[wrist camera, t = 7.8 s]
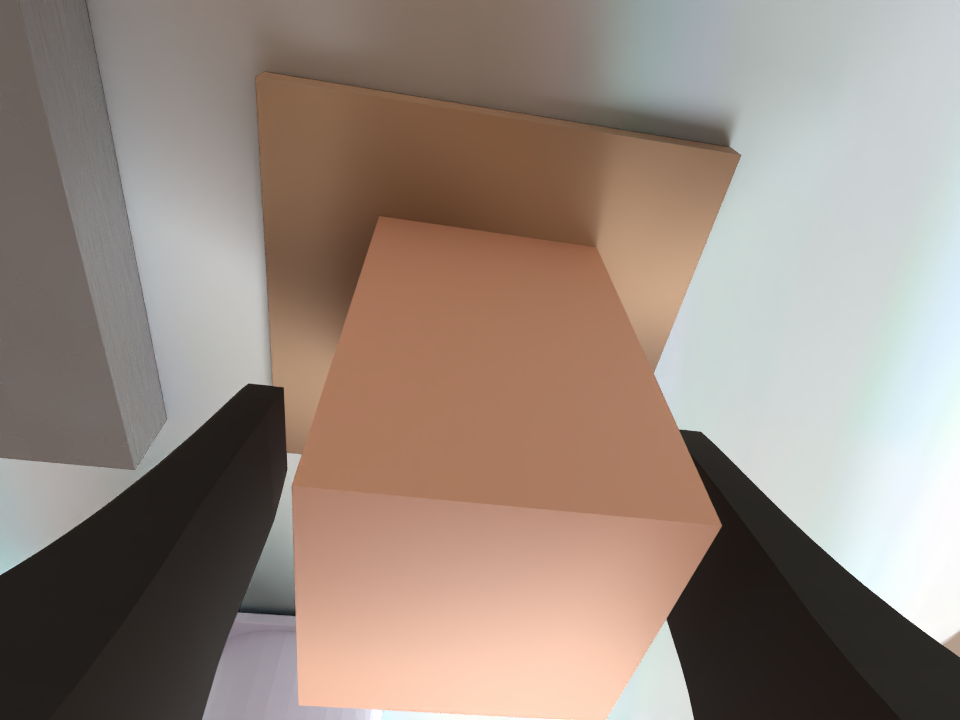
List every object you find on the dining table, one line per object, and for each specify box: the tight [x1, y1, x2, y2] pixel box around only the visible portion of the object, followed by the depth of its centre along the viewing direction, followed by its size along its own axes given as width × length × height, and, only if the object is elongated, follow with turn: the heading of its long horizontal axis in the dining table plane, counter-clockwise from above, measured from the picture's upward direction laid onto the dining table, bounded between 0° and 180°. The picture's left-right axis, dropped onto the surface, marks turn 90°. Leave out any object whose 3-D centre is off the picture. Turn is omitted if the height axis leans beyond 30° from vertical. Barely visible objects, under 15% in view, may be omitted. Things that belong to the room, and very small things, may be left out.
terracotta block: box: [292, 216, 722, 720], centre depth 11 cm, size 5×5×8 cm
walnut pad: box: [255, 72, 741, 454], centre depth 15 cm, size 10×10×1 cm
